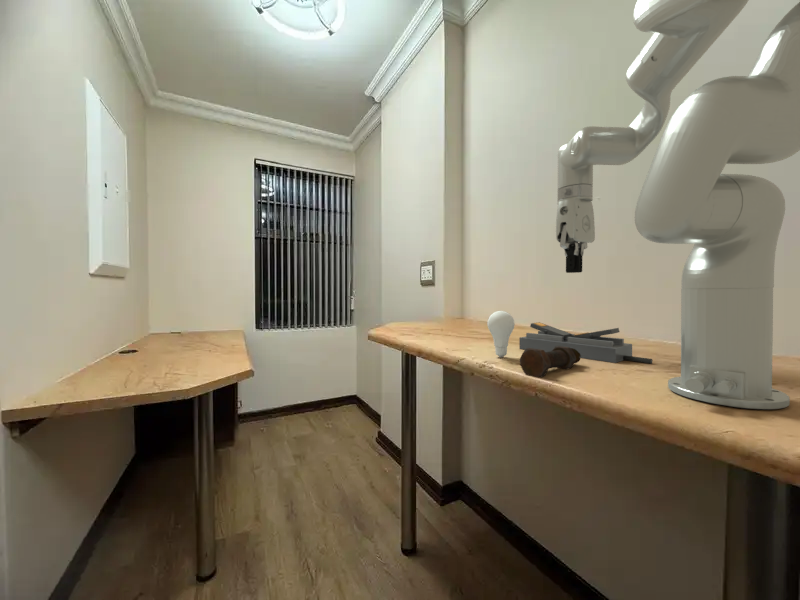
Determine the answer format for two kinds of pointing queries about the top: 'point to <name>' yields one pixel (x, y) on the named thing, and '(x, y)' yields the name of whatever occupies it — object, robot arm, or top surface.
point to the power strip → (584, 346)
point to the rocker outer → (550, 330)
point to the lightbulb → (501, 330)
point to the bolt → (547, 360)
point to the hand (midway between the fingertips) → (573, 272)
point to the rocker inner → (596, 333)
